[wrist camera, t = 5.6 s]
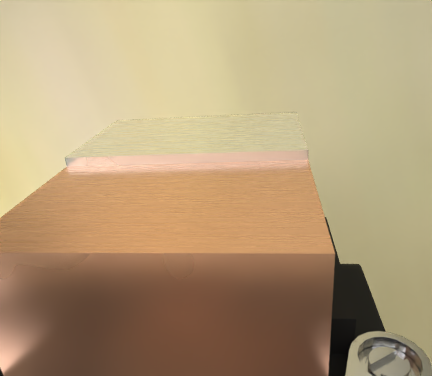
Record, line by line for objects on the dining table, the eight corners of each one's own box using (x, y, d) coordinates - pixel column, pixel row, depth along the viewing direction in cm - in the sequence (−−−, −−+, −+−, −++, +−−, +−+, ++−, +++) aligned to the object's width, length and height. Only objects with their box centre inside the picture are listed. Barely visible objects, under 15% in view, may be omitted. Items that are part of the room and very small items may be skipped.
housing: (296, 112, 10) (336, 239, 5) (294, 340, 14) (315, 589, 8) (117, 120, 11) (-50, 240, 5) (154, 336, 14) (76, 562, 8)
